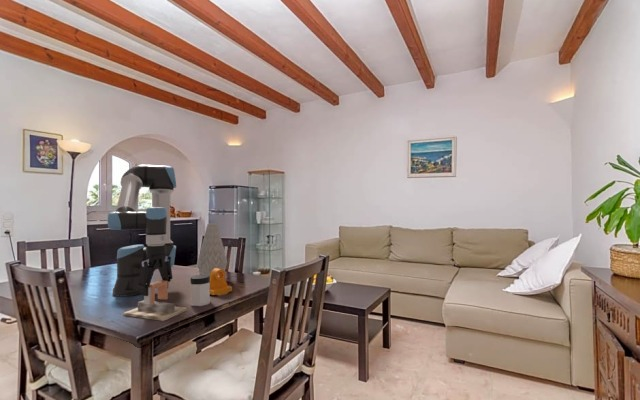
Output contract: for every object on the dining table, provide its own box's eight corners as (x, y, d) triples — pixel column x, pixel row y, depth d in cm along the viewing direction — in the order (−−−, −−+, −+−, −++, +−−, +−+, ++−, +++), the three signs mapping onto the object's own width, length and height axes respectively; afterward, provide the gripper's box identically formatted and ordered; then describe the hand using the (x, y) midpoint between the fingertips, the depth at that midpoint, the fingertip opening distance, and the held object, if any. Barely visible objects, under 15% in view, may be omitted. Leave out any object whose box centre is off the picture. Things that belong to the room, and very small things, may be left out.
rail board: (123, 315, 132) (123, 305, 132) (149, 305, 144) (149, 296, 144) (163, 320, 126) (163, 310, 126) (187, 310, 138) (187, 300, 138)
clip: (144, 303, 132) (144, 284, 132) (159, 297, 139) (160, 280, 140) (152, 304, 131) (152, 285, 131) (167, 298, 138) (167, 280, 138)
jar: (204, 299, 154) (204, 273, 154) (214, 302, 148) (214, 276, 148) (186, 304, 147) (186, 276, 147) (195, 307, 141) (195, 279, 142)
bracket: (213, 296, 158) (213, 271, 158) (205, 294, 163) (205, 269, 163) (232, 292, 166) (232, 268, 166) (225, 289, 171) (225, 266, 171)
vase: (222, 285, 179) (222, 224, 180) (192, 285, 180) (192, 224, 180) (231, 278, 196) (231, 222, 196) (203, 278, 196) (203, 222, 197)
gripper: (142, 248, 124) (142, 309, 124) (181, 242, 144) (181, 294, 144) (127, 247, 127) (126, 307, 126) (168, 241, 146) (167, 293, 146)
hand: (156, 300), depth 135 cm, fingers closed on clip, 8 cm apart
